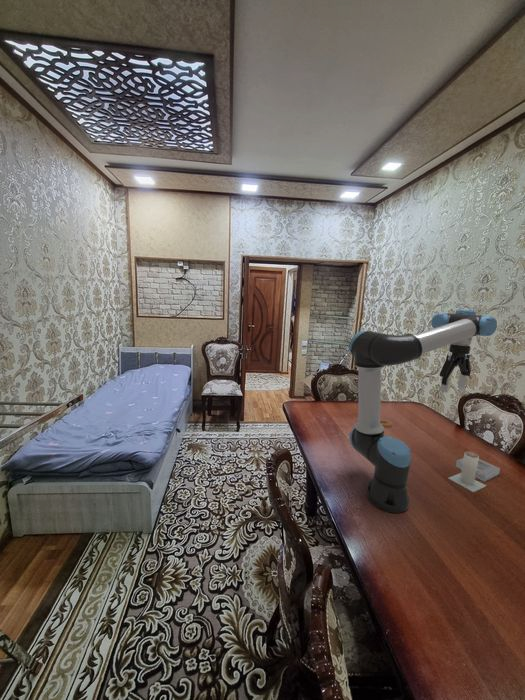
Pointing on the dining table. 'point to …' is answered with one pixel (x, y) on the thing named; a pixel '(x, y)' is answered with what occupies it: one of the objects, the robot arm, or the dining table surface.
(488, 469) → the housing
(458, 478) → the pad
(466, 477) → the off-white cylinder
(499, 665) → the dining table surface
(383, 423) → the bracket
